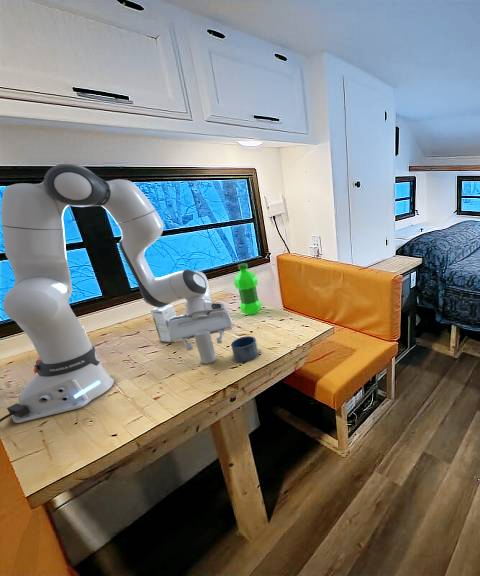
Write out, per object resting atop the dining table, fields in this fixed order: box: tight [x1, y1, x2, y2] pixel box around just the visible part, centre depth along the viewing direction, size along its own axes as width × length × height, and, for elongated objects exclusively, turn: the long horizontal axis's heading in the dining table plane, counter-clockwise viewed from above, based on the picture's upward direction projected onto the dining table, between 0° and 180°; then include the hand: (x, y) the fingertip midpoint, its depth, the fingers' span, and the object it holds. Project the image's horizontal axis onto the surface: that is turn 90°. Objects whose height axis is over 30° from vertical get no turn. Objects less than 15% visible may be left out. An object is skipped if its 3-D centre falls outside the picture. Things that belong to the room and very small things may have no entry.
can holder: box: [230, 335, 259, 363], centre depth 114 cm, size 8×8×6 cm
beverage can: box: [194, 329, 217, 365], centre depth 110 cm, size 5×5×12 cm
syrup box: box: [150, 304, 178, 343], centre depth 127 cm, size 6×6×14 cm
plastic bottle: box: [233, 262, 262, 316], centre depth 147 cm, size 10×10×25 cm
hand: (205, 346), depth 110 cm, fingers open, 8 cm apart
